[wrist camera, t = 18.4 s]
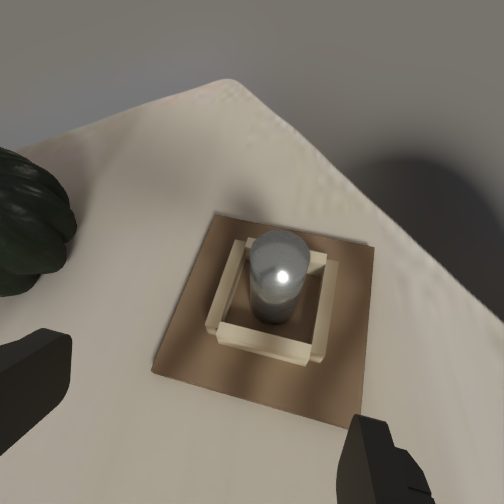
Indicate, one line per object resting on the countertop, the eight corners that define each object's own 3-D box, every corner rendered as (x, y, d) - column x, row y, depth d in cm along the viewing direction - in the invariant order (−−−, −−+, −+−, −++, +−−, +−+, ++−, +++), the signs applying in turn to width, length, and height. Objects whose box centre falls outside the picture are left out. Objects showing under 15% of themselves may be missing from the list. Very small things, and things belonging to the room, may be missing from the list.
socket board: (153, 373, 30) (142, 363, 27) (216, 219, 39) (213, 200, 36) (356, 431, 27) (368, 427, 24) (371, 252, 37) (381, 233, 34)
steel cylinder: (244, 317, 31) (242, 272, 24) (257, 277, 34) (258, 224, 26) (290, 330, 31) (303, 288, 23) (300, 288, 33) (315, 237, 25)
